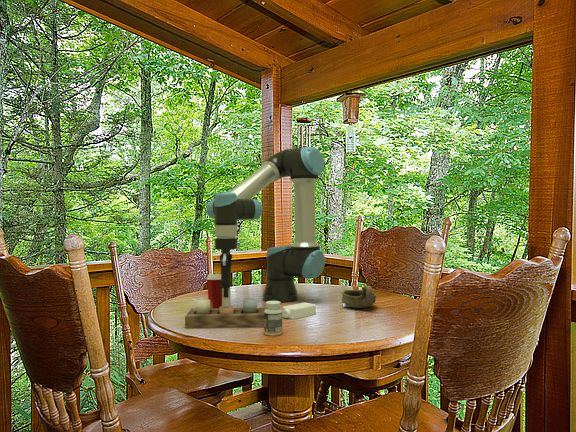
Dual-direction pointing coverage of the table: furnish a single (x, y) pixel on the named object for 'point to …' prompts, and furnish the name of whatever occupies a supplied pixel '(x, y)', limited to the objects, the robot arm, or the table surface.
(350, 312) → the table surface
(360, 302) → the bowl
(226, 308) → the button terracotta
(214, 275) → the paper cup
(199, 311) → the button cream
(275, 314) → the pill bottle
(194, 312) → the console
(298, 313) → the cream rectangular block
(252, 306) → the button slate
